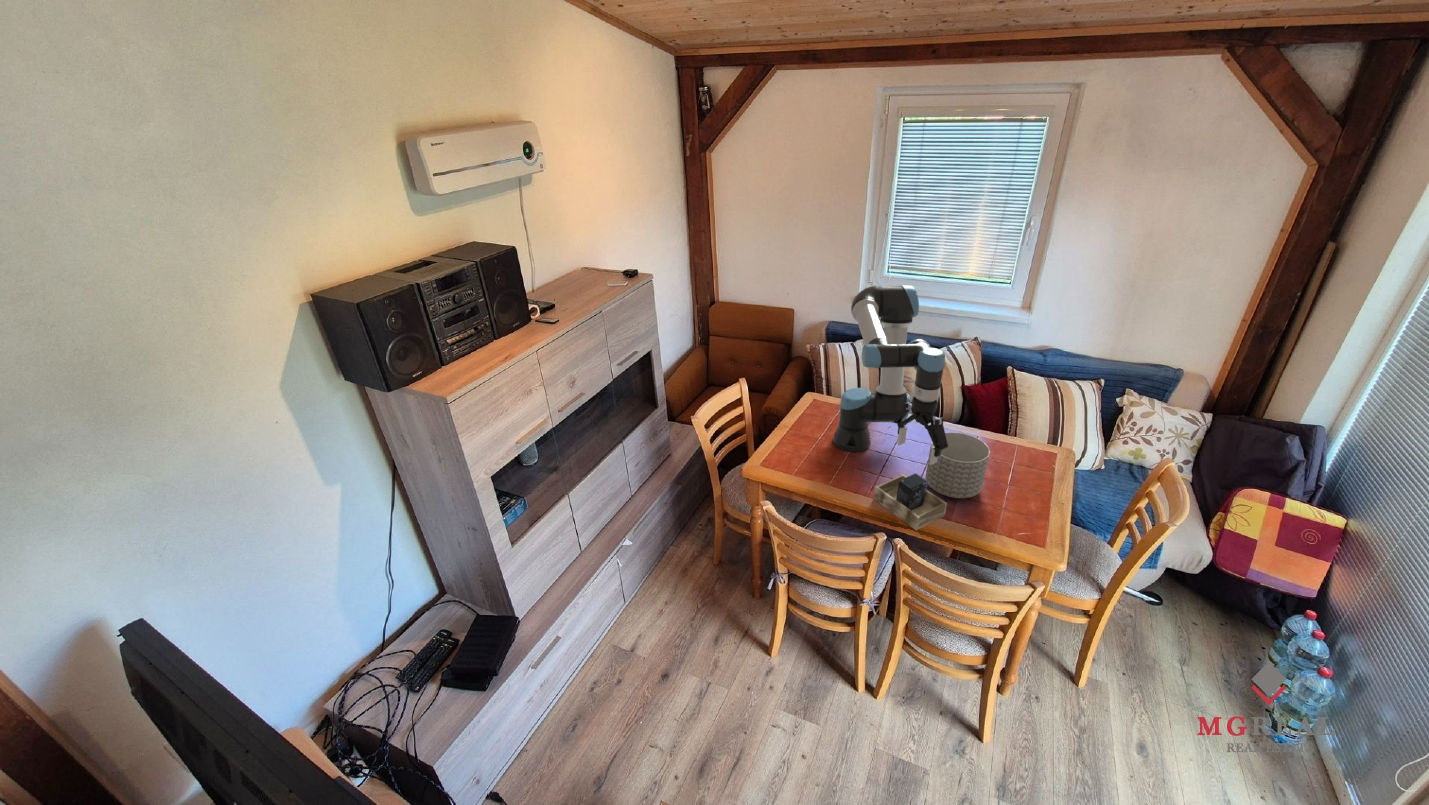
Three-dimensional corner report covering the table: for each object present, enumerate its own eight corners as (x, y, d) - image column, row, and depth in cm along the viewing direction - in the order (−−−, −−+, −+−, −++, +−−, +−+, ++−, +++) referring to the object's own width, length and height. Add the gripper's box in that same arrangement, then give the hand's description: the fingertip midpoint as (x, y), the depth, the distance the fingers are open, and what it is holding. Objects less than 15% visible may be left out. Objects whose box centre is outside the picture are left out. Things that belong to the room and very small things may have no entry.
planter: (975, 475, 210) (984, 434, 201) (984, 507, 194) (995, 465, 185) (921, 470, 214) (928, 430, 206) (926, 501, 198) (934, 459, 189)
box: (907, 513, 192) (911, 488, 187) (895, 504, 196) (898, 479, 191) (923, 505, 195) (928, 480, 190) (911, 496, 199) (915, 472, 194)
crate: (872, 499, 201) (874, 487, 198) (901, 486, 207) (902, 474, 204) (915, 531, 186) (917, 518, 183) (944, 515, 192) (947, 503, 189)
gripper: (887, 385, 183) (880, 439, 193) (950, 417, 164) (939, 476, 174) (904, 379, 186) (896, 433, 196) (967, 410, 167) (955, 468, 177)
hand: (916, 453), depth 185 cm, fingers open, 13 cm apart
